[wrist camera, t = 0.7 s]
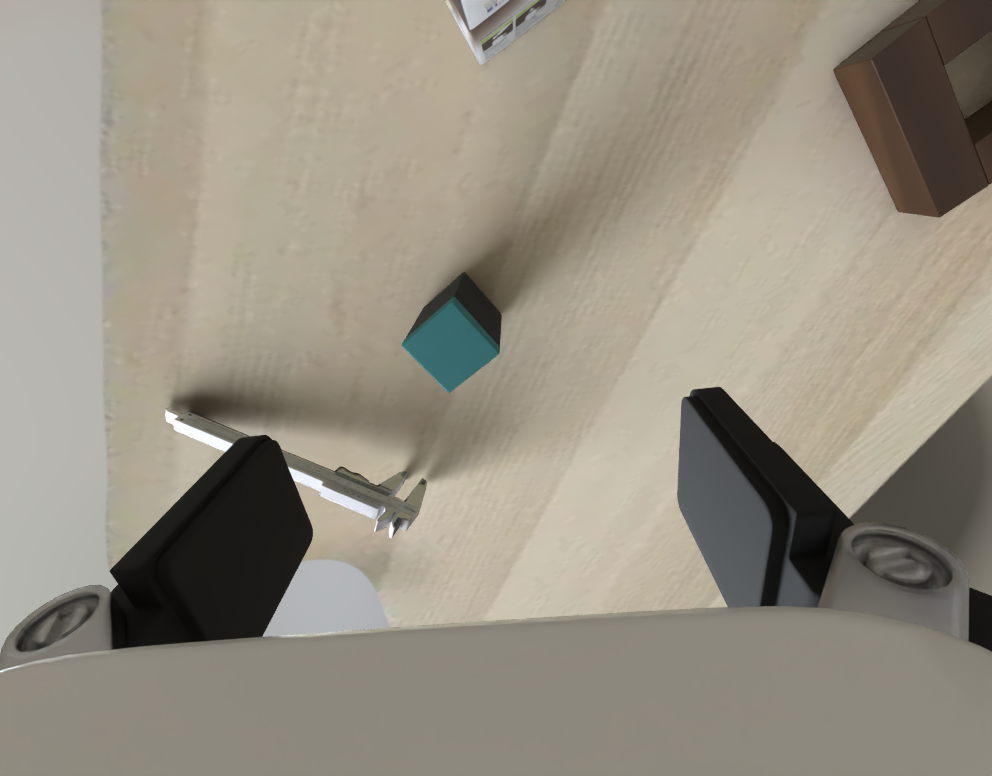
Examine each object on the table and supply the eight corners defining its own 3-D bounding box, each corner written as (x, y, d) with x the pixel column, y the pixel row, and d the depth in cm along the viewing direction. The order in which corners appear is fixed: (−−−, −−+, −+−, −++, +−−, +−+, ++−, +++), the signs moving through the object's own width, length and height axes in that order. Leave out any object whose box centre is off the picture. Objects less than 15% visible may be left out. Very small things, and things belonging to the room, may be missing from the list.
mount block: (1027, -87, 22) (1100, -122, 19) (1077, 91, 25) (1146, 83, 22) (832, 69, 25) (871, 59, 22) (897, 212, 28) (939, 218, 25)
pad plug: (464, 271, 30) (452, 301, 24) (502, 314, 31) (500, 353, 25) (422, 308, 31) (400, 345, 25) (460, 348, 32) (448, 393, 26)
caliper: (429, 476, 37) (414, 532, 32) (425, 487, 38) (410, 544, 32) (169, 405, 35) (104, 451, 30) (169, 417, 36) (105, 465, 30)
